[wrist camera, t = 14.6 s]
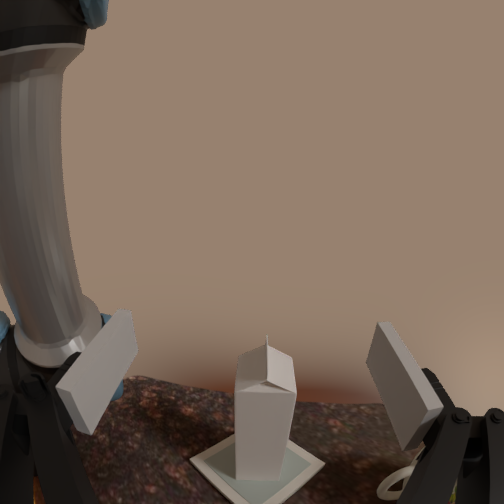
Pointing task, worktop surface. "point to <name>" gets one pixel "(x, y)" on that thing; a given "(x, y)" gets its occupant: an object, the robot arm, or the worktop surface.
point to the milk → (263, 412)
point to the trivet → (255, 492)
